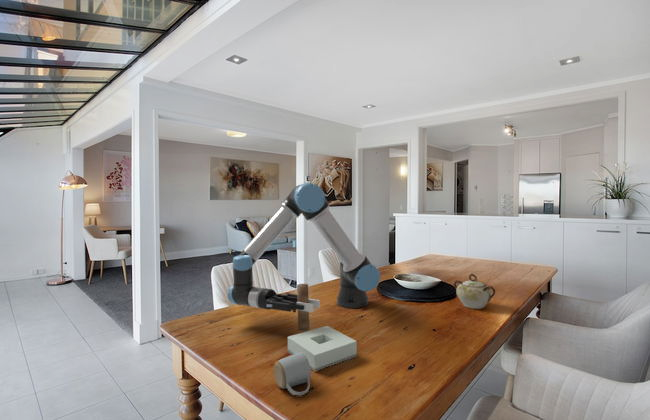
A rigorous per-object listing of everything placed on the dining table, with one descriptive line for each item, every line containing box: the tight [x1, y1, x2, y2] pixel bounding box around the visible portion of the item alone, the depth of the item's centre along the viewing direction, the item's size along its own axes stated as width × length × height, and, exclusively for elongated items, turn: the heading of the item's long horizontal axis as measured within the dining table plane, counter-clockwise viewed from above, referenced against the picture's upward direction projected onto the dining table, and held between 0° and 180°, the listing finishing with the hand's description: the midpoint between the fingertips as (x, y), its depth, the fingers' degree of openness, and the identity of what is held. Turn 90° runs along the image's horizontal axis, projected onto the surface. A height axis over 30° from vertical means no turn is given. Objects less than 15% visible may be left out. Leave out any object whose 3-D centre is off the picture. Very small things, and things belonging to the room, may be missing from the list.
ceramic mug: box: [273, 352, 312, 396], centre depth 88 cm, size 11×8×8 cm
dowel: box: [296, 283, 310, 332], centre depth 119 cm, size 4×4×16 cm
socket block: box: [287, 325, 358, 372], centre depth 107 cm, size 16×16×5 cm
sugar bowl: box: [453, 273, 496, 310], centre depth 153 cm, size 20×15×15 cm
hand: (316, 306), depth 116 cm, fingers closed on dowel, 4 cm apart
